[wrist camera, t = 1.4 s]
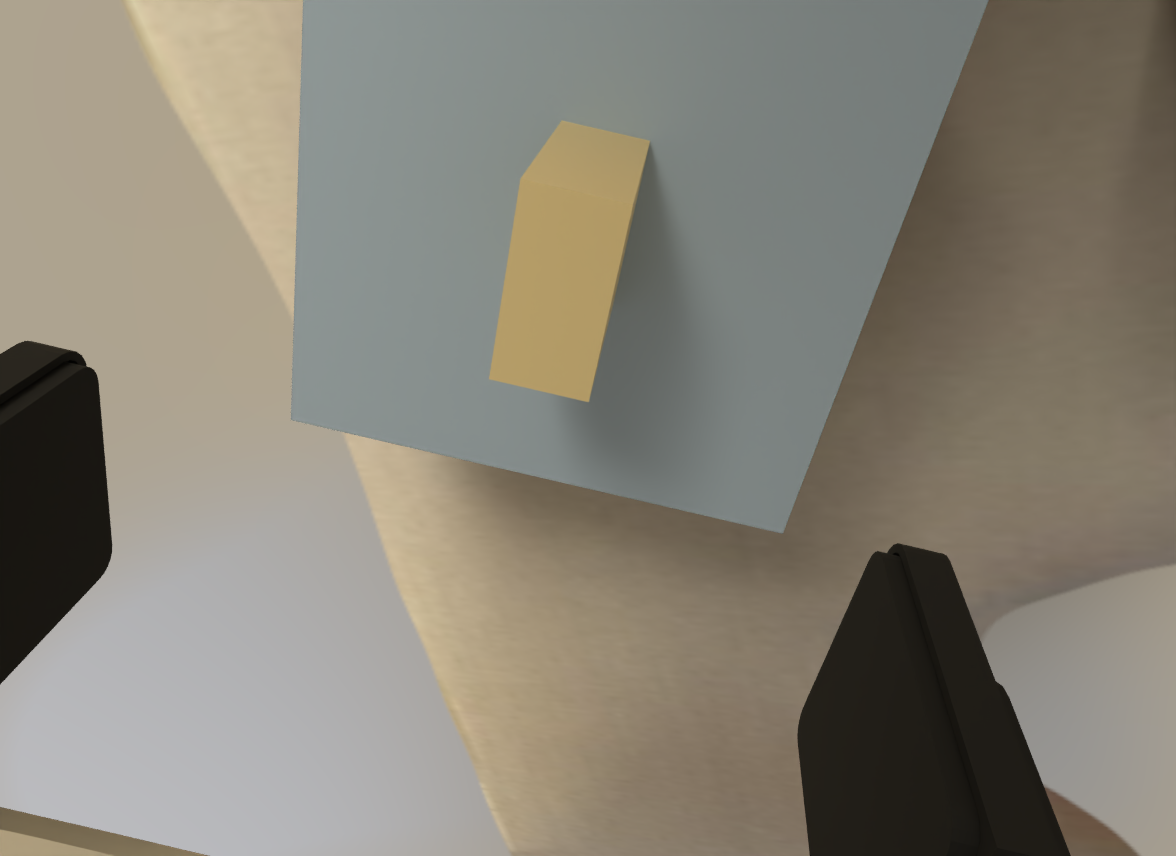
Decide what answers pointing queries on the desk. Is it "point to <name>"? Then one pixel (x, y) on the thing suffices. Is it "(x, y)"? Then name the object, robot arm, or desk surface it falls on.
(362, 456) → the desk surface
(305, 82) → the lid
